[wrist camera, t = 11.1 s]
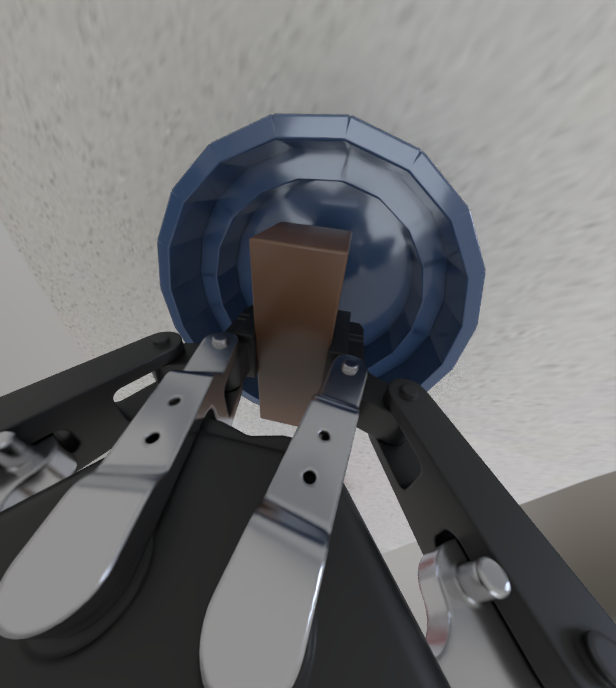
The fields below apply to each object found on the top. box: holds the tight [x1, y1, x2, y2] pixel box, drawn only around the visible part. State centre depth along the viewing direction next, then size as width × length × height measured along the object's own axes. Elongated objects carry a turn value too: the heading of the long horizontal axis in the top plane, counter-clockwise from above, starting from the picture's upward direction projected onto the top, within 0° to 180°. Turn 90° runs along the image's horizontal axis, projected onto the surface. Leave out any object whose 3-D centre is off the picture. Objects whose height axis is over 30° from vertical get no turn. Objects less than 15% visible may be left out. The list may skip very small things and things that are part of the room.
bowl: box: [157, 113, 485, 405], centre depth 14 cm, size 15×15×6 cm
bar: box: [249, 222, 352, 426], centre depth 11 cm, size 9×3×3 cm, turn 175°
